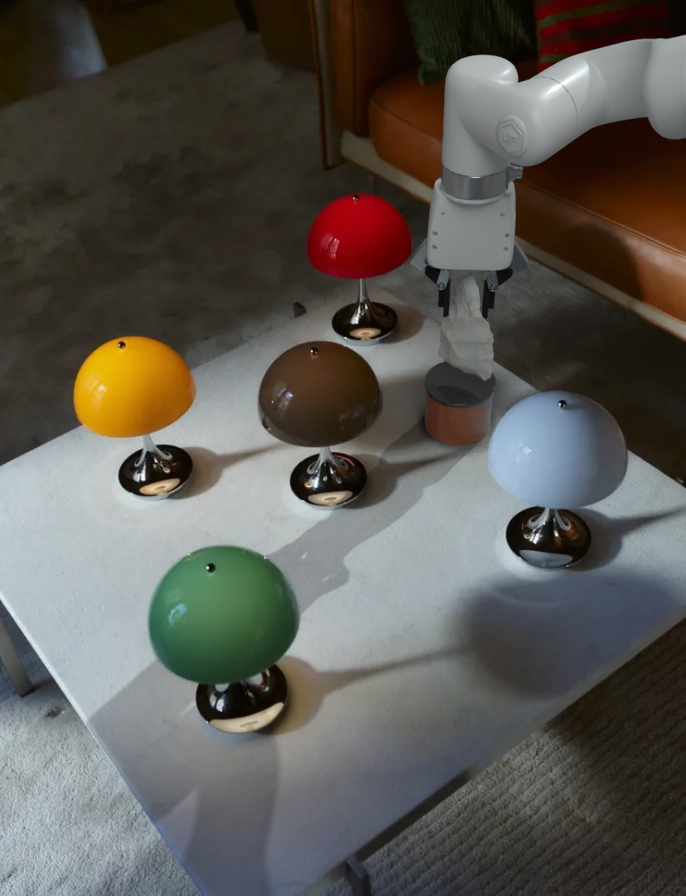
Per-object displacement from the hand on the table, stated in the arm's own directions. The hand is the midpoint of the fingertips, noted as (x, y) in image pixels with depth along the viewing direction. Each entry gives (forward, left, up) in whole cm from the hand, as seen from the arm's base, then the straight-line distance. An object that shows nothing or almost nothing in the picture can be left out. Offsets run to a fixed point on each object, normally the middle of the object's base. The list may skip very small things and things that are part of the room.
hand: (465, 310), depth 119 cm
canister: (0, 0, -19) cm, 19 cm away
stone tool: (0, 0, -10) cm, 10 cm away
